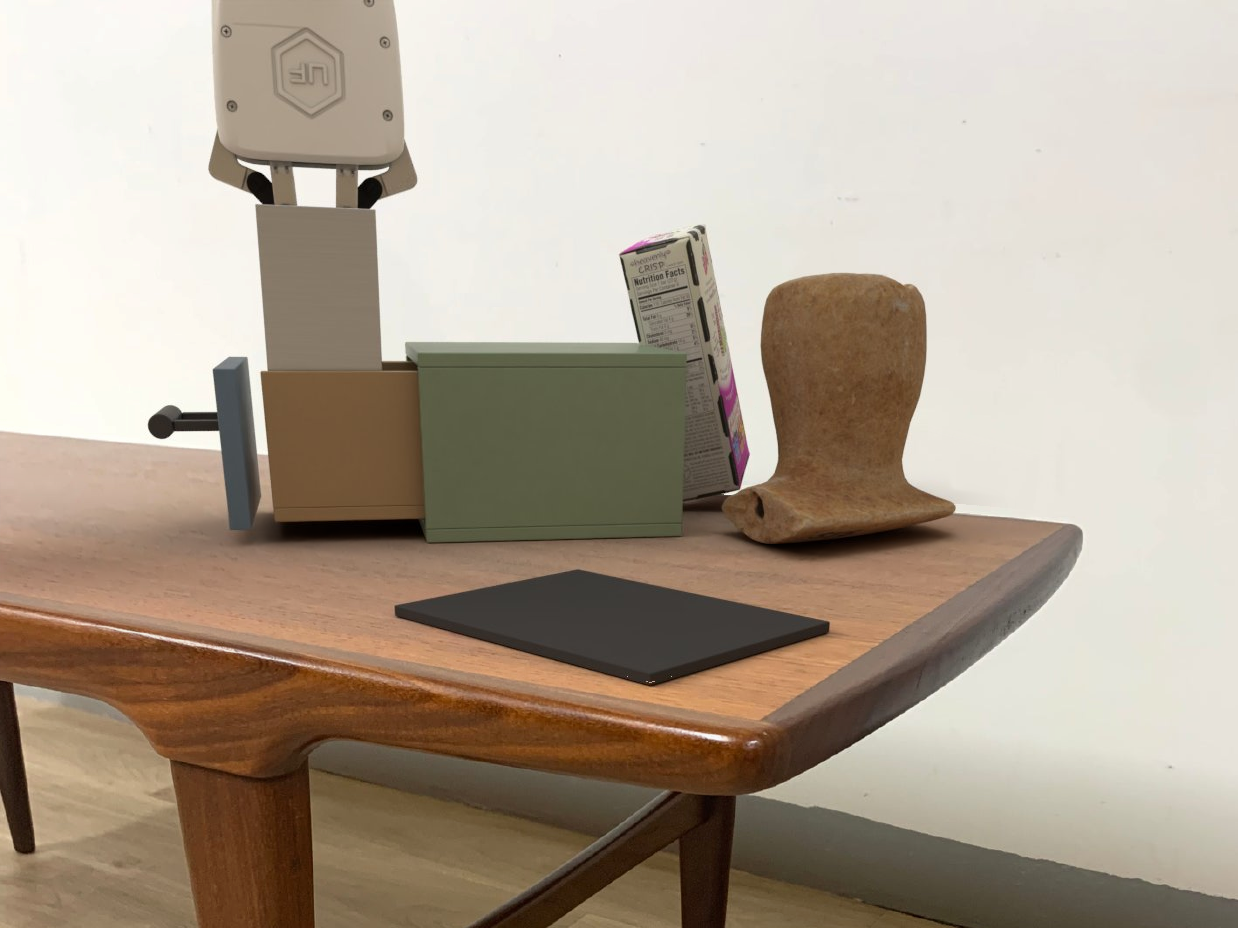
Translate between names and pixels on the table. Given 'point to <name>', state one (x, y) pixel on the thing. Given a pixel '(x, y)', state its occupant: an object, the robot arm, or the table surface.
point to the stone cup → (839, 410)
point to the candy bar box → (691, 351)
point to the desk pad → (614, 624)
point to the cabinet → (550, 440)
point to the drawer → (316, 442)
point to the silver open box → (319, 288)
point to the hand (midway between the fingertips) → (321, 300)
